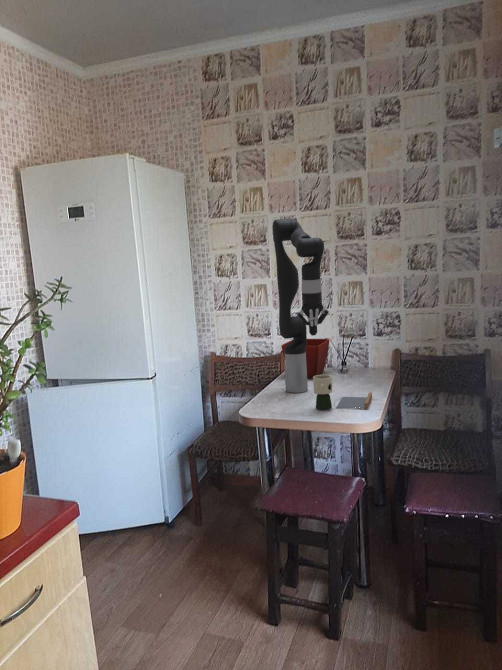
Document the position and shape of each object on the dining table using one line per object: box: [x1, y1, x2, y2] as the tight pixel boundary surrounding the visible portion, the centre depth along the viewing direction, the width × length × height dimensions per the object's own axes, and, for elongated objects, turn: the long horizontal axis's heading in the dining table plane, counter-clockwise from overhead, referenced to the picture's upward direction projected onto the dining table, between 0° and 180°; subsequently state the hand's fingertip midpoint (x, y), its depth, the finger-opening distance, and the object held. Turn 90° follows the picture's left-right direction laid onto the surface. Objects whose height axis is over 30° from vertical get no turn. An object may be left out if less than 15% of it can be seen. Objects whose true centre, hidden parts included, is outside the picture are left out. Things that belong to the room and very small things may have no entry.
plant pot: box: [281, 338, 330, 379], centre depth 267 cm, size 19×19×17 cm
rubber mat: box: [335, 391, 373, 410], centre depth 214 cm, size 12×16×2 cm
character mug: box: [312, 374, 333, 411], centre depth 208 cm, size 11×7×13 cm, turn 169°
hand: (313, 334), depth 209 cm, fingers closed
